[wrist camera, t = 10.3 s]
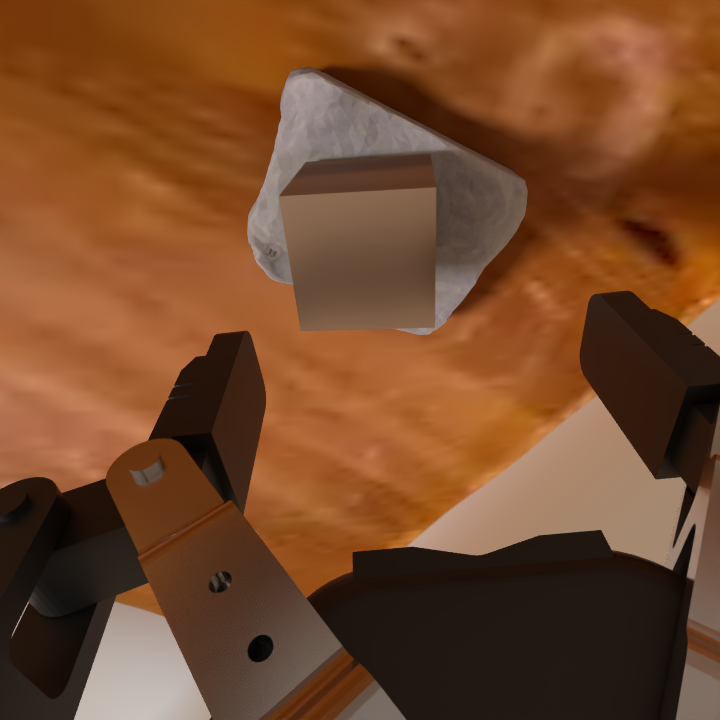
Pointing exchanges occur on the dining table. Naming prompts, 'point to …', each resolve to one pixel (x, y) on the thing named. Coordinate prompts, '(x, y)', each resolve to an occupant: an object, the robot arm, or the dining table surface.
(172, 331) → the dining table surface
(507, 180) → the stone block
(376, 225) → the walnut cube
